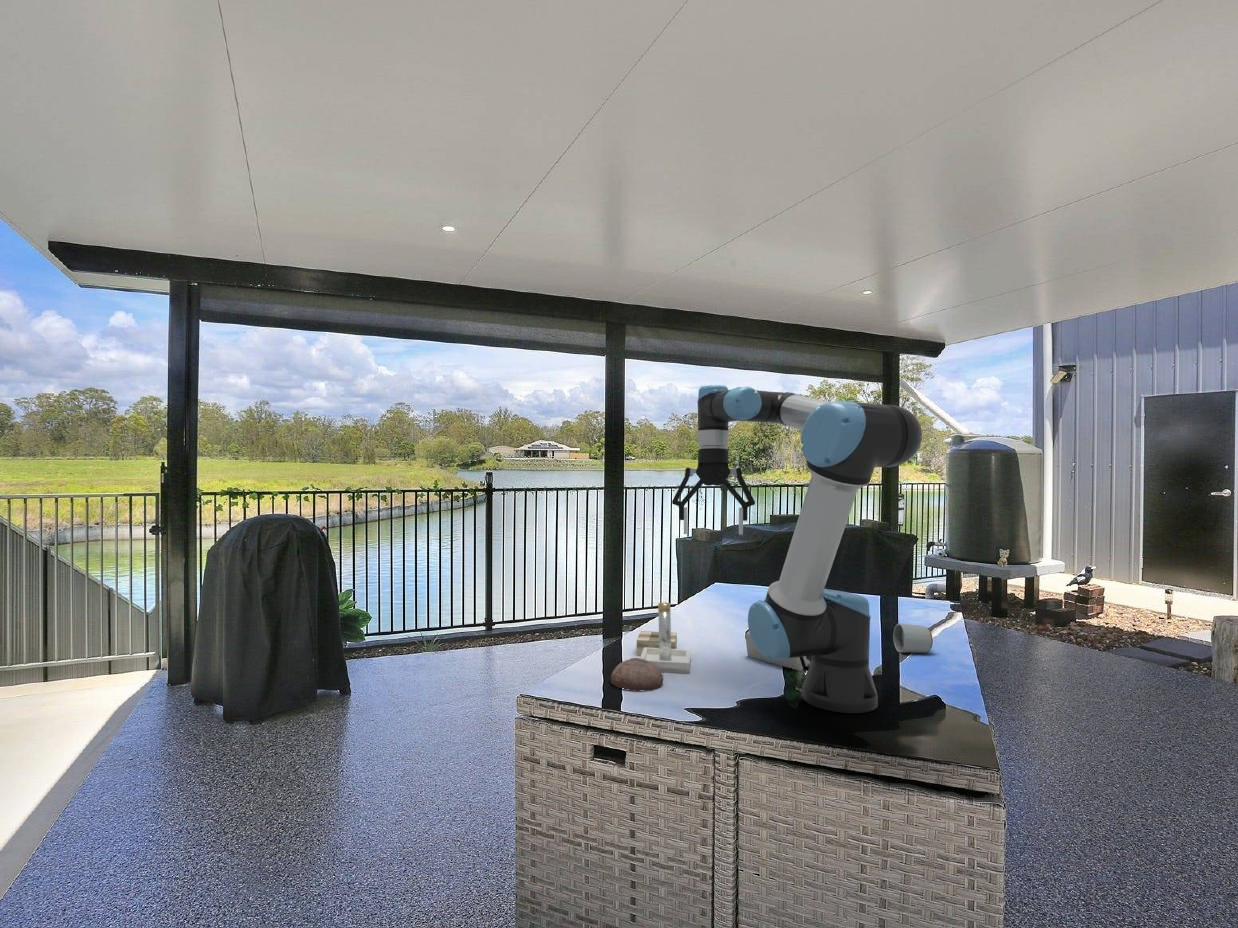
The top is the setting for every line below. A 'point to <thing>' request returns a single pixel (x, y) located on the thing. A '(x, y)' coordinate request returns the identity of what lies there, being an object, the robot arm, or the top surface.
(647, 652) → the tray
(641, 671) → the decorative stone
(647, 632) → the socket block
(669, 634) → the pin
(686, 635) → the top surface
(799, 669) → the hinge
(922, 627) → the grey hollow cylinder
